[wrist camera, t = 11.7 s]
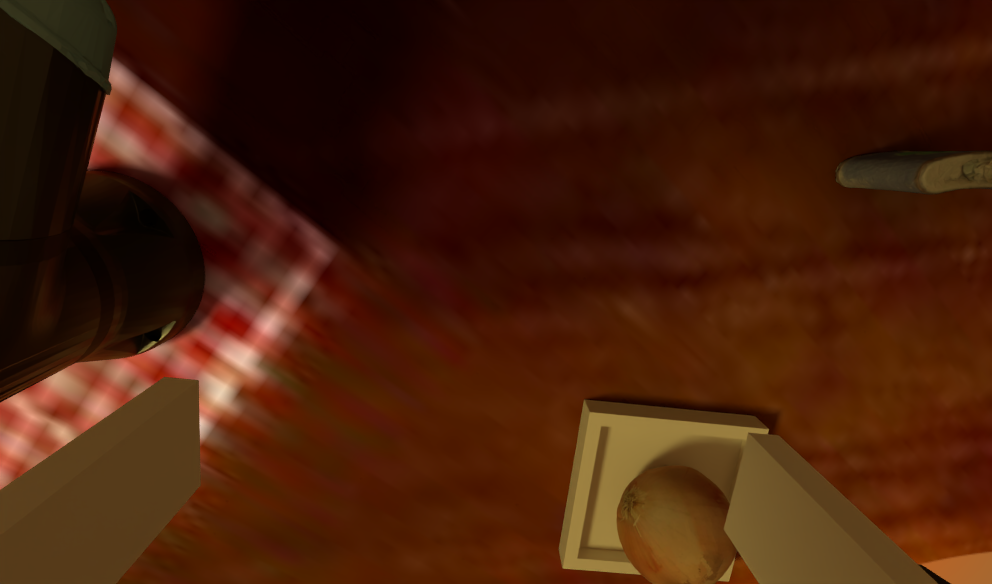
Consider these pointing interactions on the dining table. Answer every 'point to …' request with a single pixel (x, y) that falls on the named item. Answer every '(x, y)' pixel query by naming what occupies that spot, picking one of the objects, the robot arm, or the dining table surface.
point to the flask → (918, 171)
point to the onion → (675, 526)
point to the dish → (640, 469)
